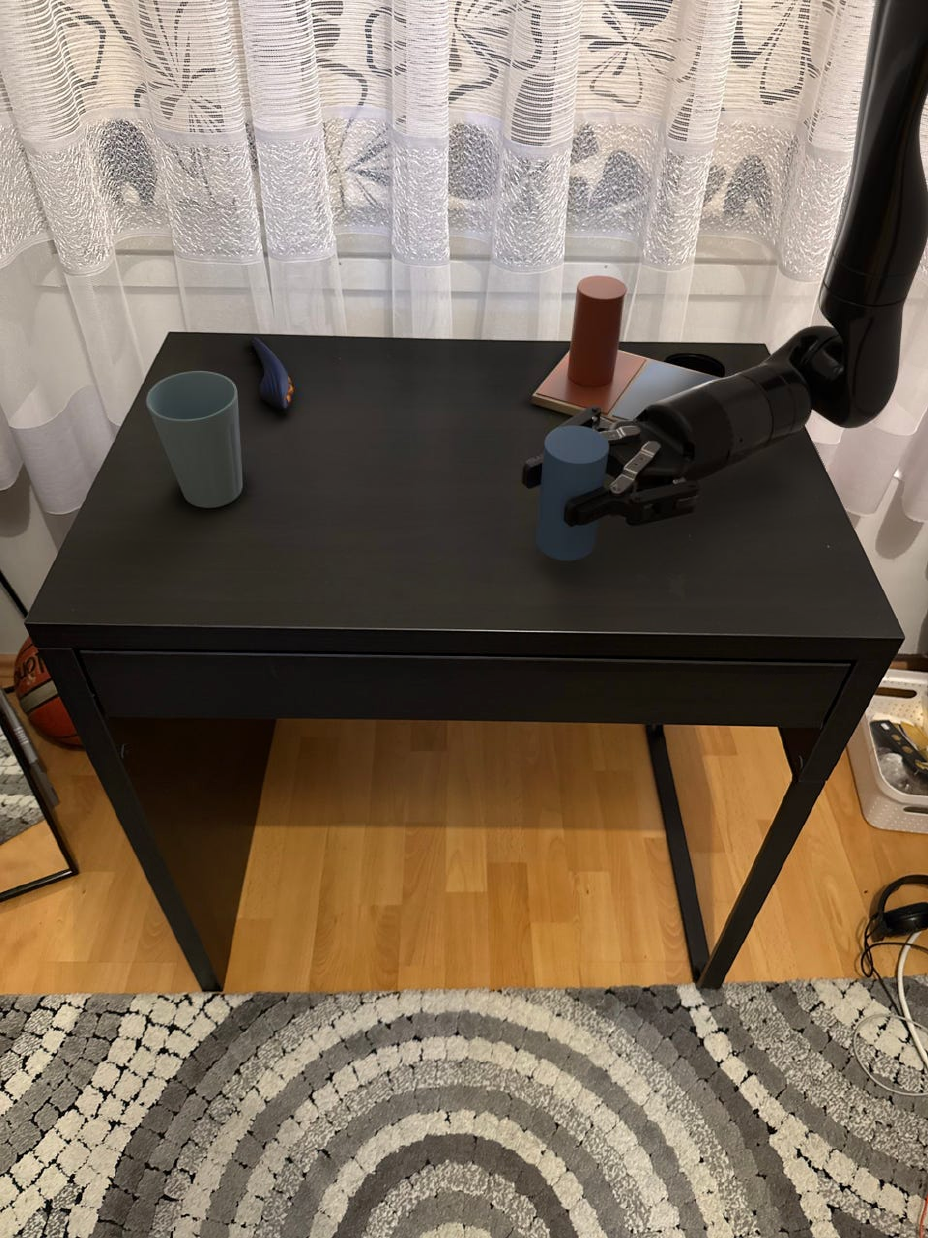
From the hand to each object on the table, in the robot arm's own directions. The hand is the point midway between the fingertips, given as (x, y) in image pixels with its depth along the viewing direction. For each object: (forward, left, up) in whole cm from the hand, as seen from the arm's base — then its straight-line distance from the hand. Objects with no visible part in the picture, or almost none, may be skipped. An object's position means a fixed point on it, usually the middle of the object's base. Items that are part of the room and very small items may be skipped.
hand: (546, 495), depth 74 cm
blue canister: (-1, -2, -6) cm, 7 cm away
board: (+3, -30, -9) cm, 32 cm away
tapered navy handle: (+38, -14, -9) cm, 41 cm away
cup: (+32, +4, -9) cm, 33 cm away
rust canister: (+7, -30, -8) cm, 32 cm away
